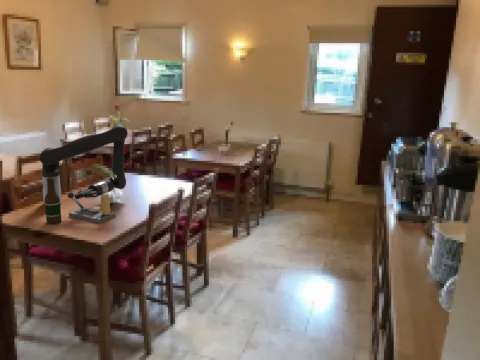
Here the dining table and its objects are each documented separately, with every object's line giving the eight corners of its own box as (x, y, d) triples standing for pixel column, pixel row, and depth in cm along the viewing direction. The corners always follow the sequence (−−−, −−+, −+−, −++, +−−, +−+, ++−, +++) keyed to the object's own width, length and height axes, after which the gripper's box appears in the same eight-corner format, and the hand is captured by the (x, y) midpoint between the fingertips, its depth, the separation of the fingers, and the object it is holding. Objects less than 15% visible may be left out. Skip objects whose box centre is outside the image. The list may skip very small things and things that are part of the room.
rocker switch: (89, 210, 224) (89, 207, 224) (94, 209, 228) (95, 206, 228) (94, 211, 223) (94, 208, 223) (100, 210, 227) (100, 207, 227)
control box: (68, 216, 223) (68, 212, 223) (85, 210, 234) (85, 206, 233) (100, 223, 215) (99, 219, 214) (115, 216, 225) (115, 212, 225)
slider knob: (100, 214, 221) (99, 195, 219) (105, 212, 225) (104, 193, 222) (106, 215, 220) (105, 196, 217) (111, 213, 223) (110, 194, 221)
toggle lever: (78, 209, 227) (65, 195, 217) (81, 204, 229) (68, 190, 219) (83, 210, 226) (69, 196, 216) (86, 205, 228) (73, 191, 218)
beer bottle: (49, 219, 218) (45, 176, 212) (64, 219, 219) (60, 176, 213) (43, 224, 210) (39, 180, 204) (59, 224, 211) (55, 180, 205)
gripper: (89, 181, 239) (66, 188, 224) (106, 184, 234) (84, 192, 218) (90, 193, 241) (67, 201, 226) (107, 197, 236) (85, 205, 220)
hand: (75, 197), depth 222 cm, fingers closed
